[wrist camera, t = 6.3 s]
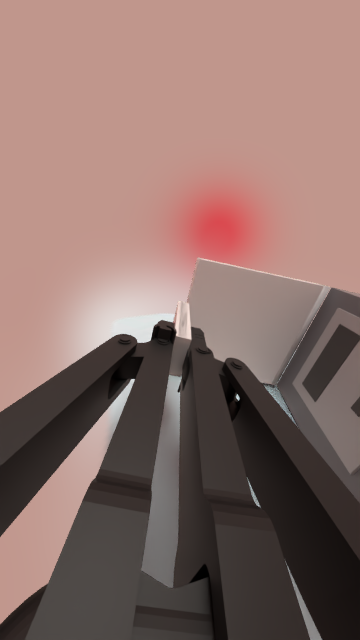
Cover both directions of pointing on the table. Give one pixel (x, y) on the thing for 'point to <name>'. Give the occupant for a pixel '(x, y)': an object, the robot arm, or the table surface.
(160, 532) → the table surface
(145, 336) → the table surface
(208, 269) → the door
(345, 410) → the housing
